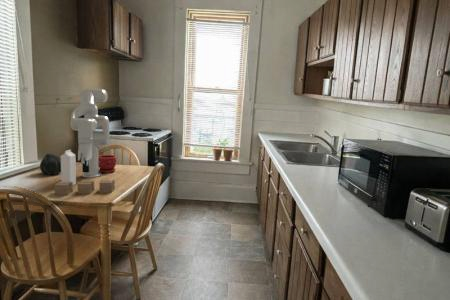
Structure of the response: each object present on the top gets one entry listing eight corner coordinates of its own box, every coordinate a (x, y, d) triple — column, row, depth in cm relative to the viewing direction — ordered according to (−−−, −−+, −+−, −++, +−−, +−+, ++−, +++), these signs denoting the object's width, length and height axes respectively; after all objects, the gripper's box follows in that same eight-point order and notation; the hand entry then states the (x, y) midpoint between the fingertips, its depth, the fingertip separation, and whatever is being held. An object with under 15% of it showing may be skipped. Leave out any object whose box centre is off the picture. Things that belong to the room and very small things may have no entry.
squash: (72, 165, 219) (58, 148, 218) (58, 170, 204) (43, 153, 203) (58, 176, 222) (45, 160, 220) (44, 182, 207) (30, 165, 206)
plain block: (82, 190, 182) (82, 180, 181) (94, 190, 182) (94, 180, 181) (77, 193, 175) (77, 183, 174) (90, 194, 175) (90, 184, 174)
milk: (61, 185, 187) (60, 150, 184) (67, 183, 193) (66, 149, 190) (70, 186, 187) (69, 151, 183) (76, 183, 193) (75, 149, 189)
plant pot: (119, 170, 233) (119, 155, 231) (109, 174, 220) (109, 158, 218) (104, 169, 236) (104, 153, 234) (93, 172, 223) (93, 156, 221)
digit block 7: (102, 188, 186) (102, 179, 185) (114, 189, 187) (114, 179, 186) (99, 192, 179) (99, 182, 178) (111, 192, 180) (111, 182, 179)
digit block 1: (60, 191, 177) (60, 181, 176) (72, 191, 178) (72, 181, 177) (54, 195, 170) (54, 184, 169) (68, 195, 171) (67, 184, 170)
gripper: (83, 139, 180) (83, 169, 183) (73, 141, 166) (74, 174, 168) (96, 139, 181) (96, 169, 184) (87, 142, 166) (88, 175, 169)
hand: (85, 172), depth 176 cm, fingers closed
